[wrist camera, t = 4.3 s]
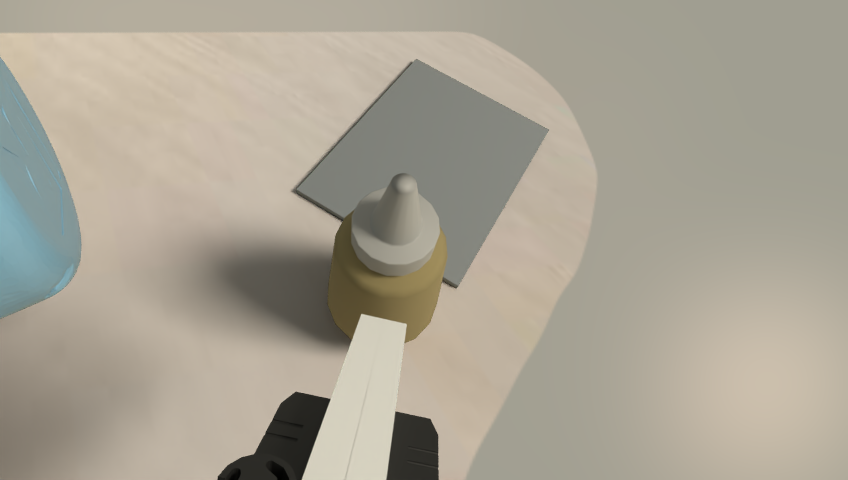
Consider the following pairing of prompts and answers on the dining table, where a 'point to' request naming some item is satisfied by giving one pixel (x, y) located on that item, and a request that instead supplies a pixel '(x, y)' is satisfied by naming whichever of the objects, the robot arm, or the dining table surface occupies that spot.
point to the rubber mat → (433, 157)
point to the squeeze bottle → (388, 260)
